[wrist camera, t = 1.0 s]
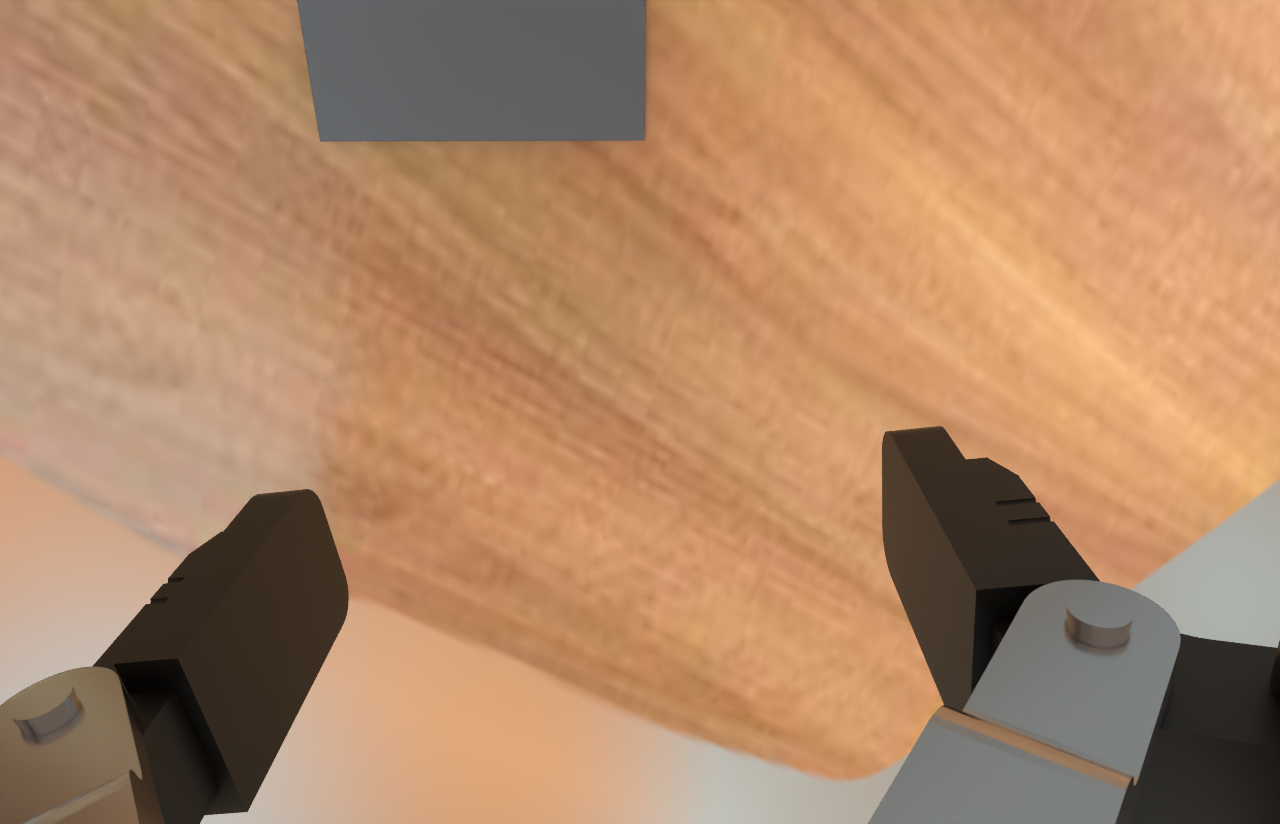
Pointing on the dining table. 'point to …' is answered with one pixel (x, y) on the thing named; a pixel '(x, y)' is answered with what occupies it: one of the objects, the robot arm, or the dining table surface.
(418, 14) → the charcoal mat
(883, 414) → the dining table surface
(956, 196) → the dining table surface
